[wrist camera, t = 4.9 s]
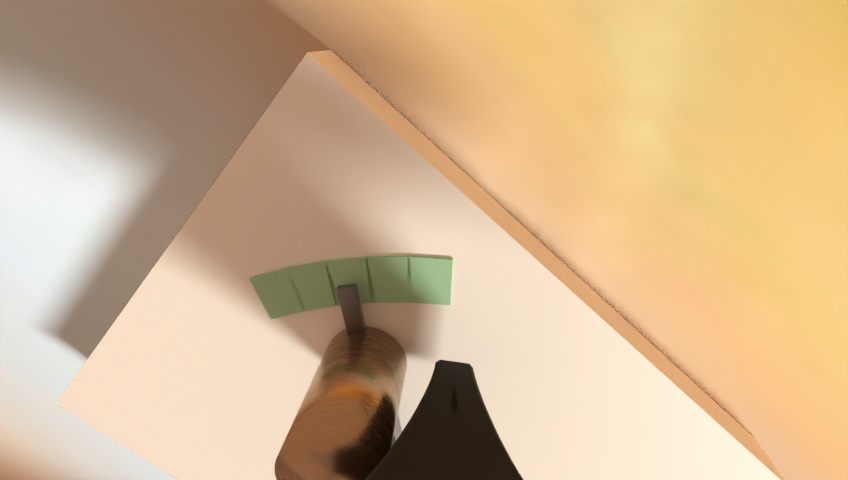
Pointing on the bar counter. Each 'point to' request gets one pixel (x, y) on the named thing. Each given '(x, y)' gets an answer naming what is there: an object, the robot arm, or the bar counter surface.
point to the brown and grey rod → (347, 404)
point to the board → (383, 312)
